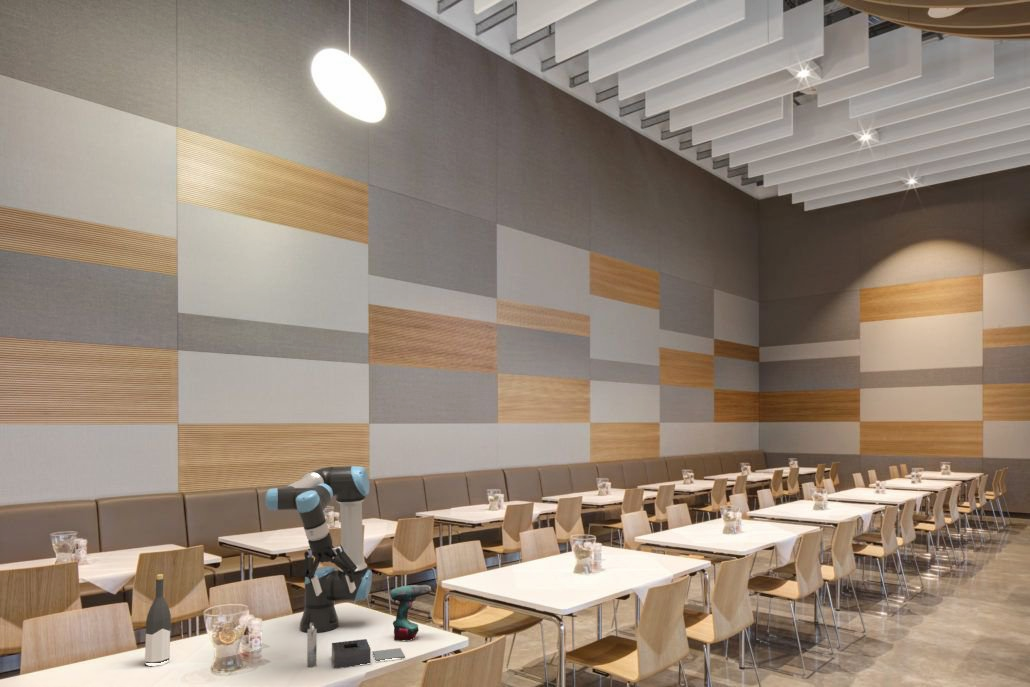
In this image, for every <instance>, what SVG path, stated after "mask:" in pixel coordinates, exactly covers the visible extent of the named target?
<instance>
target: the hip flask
mask: <svg viewBox="0 0 1030 687" xmlns="http://www.w3.org/2000/svg"><path fill="white" fill-rule="evenodd" d="M317 633H318V632H317V629H316V628H314V623H313V622H311V623H310V629H308V632H307V644H306V646H307V648H306V649H307V651H306V653H307V655H306V656H307V659H306V660H307V662H306V666H307V668H314V666H315V667H317V654H318V653H317V649H318V647H317V643H318V642H317V641H318V639H317V636H318V635H317Z"/></svg>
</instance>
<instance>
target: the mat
mask: <svg viewBox="0 0 1030 687" xmlns="http://www.w3.org/2000/svg"><path fill="white" fill-rule="evenodd" d="M371 653H373V654H372V656H373V655H374V656H373V658H374V657H375V659H374V661H375V660H376V661H380V660H385V659H392V658H405V659H406V656H405V654H404V652H403V650H402V648H401V647H398V648H390V649H382V650H372V651H371ZM376 661H375V662H376Z"/></svg>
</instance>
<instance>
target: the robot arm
mask: <svg viewBox="0 0 1030 687" xmlns="http://www.w3.org/2000/svg"><path fill="white" fill-rule="evenodd" d="M370 486H371V485H370V478H369V474H368V471H367V469H366V468H365V467H363V466H357V465H356V466H355V465H348V466H345V465H343V466H325V467H320V468H318V469H315V470H313V471H310V472H308V473H306V474H304V475H303V476H302V478H301V479H299V480H297V481H294V482H292V483H290V484H289V485H286V486H284V487H279V488H278V487H274V488H269V489H268V490H267V492H266V494H265V500H264V501H265V502H264V503H265V507H266V508H267V510H268V511H283V510H284V511H289V510H290V511H291V510H292V511H293V510H294V511H295V510H297V511H298V514H299V516H300V519H301V523H302V525H303V529H304V532H305V536H306V538H307V542H308V547H309V548H308V549H307V550H305V552H304V553H303V555H304V563H303V569H302V577H303V578H304V610H303V612H302V617H301V620H300V623H299V630H300V629H301V630H302V631H301V630H300V631H301V632H303V631H306V632H305V633H308V629H310V623H311V622H313V623H314V628H316V629H317V633H324V632H323V631H325V632H328V630H329V631H333V630H335V629H337V628H338V627H339V624H340V623H339V622H340V621H339V617H338V614H337V610H336V607H335V601H340V602H341V601H346V602H347V601H355V602H357V601H364V600H366V599H367V598H368V597H369V595H370V591H371V589H372V588H371V587H372V582H373V572H372V570H371V569H368V563H366V562H365V561H364V542H363V541H364V540H363V539H364V538H363V506H362V504H363V502H364V501H365V500H366V496H368V495H369V493H370ZM333 497H335V502H336V503H337V504H339V507H340V508H339V509H340V510H339V513H340V516H339V517H340V544H341V545H339V546H337V547H334V546H333V538H332V536H331V533H330V528H329V525H328V522H327V520H326V516H325V513H324V512H325V509H326V508H327V506H328V505H329V504H330V503H331V501H332V498H333ZM312 557H314V561H313V564H312V559H313V558H312ZM329 562H330V563H331V564H334V565H335V566H336V567H337V570H336V568H335V567H334V566H330V565H329V566H328V565H327V566H322V567H319V565H320V563H329ZM311 565H312V566H311ZM332 629H333V630H332Z"/></svg>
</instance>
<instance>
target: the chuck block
mask: <svg viewBox="0 0 1030 687" xmlns="http://www.w3.org/2000/svg"><path fill="white" fill-rule="evenodd" d="M371 653H372V651H371V647H370V644H369V642H368V639H366V638H365V639H356V640H348V641H347V640H346V641H337V642H331V661H332V660H333V661H332V664H333V669H334V668H336V669H342V668H341V667H344V668H350V667H349V666H352V667H356V666H355V665H360V664H367V663H372V661H371ZM360 666H361V665H360Z"/></svg>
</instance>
